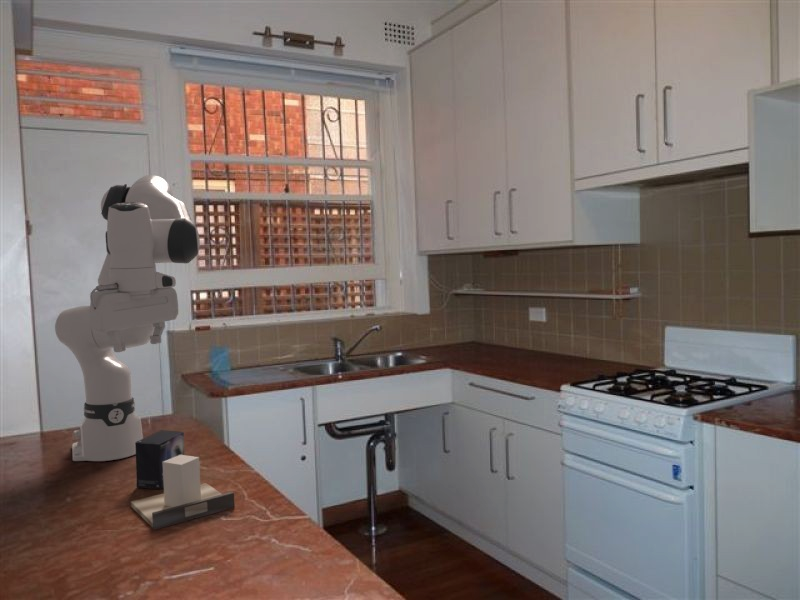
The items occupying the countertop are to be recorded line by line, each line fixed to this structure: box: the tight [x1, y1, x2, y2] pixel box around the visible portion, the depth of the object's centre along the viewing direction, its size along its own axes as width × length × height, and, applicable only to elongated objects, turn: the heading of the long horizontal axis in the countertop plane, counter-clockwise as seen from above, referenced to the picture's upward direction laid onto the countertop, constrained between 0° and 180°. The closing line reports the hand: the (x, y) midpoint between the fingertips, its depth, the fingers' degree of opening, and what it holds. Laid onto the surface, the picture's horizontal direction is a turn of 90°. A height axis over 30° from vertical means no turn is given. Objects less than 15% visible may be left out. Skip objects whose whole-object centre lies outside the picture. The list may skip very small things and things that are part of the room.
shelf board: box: [130, 482, 235, 530], centre depth 131 cm, size 15×16×3 cm
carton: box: [162, 454, 201, 507], centre depth 130 cm, size 5×5×9 cm
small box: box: [135, 429, 185, 490], centre depth 146 cm, size 11×6×10 cm, turn 168°
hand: (138, 347), depth 133 cm, fingers open, 8 cm apart
